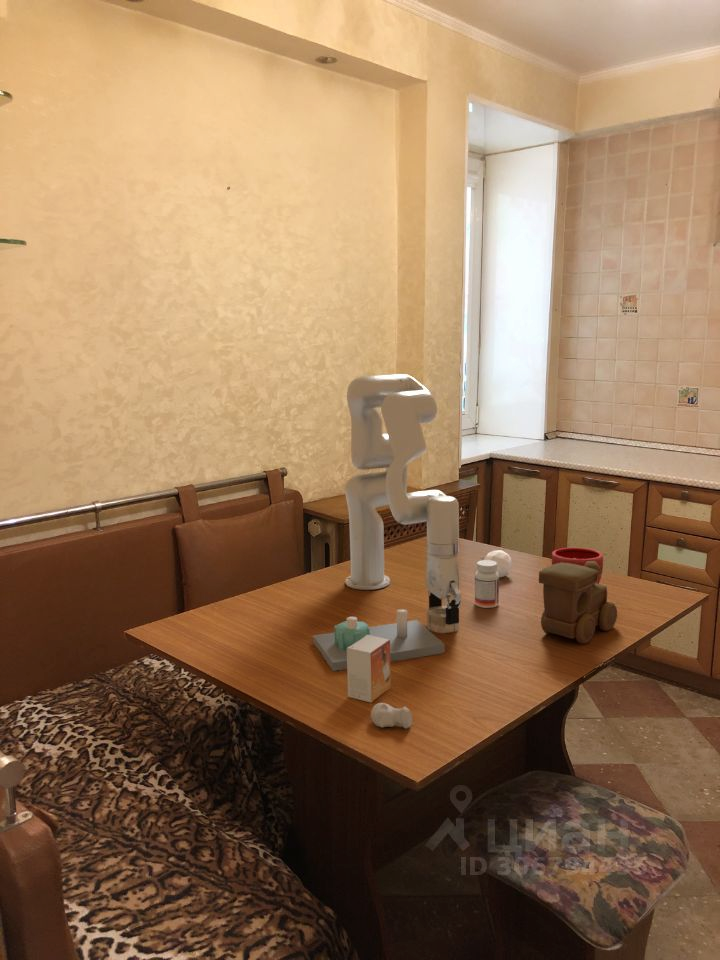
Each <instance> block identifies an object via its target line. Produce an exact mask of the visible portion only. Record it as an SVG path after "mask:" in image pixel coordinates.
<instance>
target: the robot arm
mask: <svg viewBox="0 0 720 960" xmlns="http://www.w3.org/2000/svg"><path fill="white" fill-rule="evenodd" d="M346 390H347V391H346V400H347V401H346V402H347V406H348V411H349V415H350V423H351V425H350V426H351V427H350V428H351V429H350V433H351V434H350V435H351V436H350V456H351V457H350V458H351V463H352V465H353V467H354V468H356V469H357V470H362V471H367V470H369V471H370V470H376V469H377V470H379V469H385V470H383V471H375V472H367V473H359V474H355V475H352V476H351V477H349V479H348V480H347V481H346V483H345V486H344V493H345V499H346V503H347V510H348V521H349V522H348V523H349V541H350V542H349V550H350V551H349V552H350V553H349V555H350V575H348V576H347V577H346V579H345V585H346V586H347V587H349V588H352V589H354V590H355V589H356V590H360V591H361V590H363V591H364V590H365V591H369V590H370V591H371V590H381V589H382V588H385V587H388V586H389V585H390V583H391V579H390V577H389V576H388V575H386V574H385V544H384V543H385V540H384V539H385V536H384V533H385V532H384V521H383V519H382V516H381V515H380V514H379V513H378V511H377V510H376V508H378V507H382V506H389V510H390V511H391V514H392V516H393V519H394V520H395V521H396V522H397V523H399V524H401V525H413V524H419V523H425V522H426V552H427V553H426V565H425V588H426V590H427V592H428V593H427V594H428V609H429V608H431V607H437V606H443V603H442V602H443V600H444V601H445V604H446V605H445V606H447V608H446V624H447V625H449V624H456V623H460V607H461V602H462V601H461V599H462V592H461V591H460V570H459V569H460V568H459V559H458V557H459V555H460V522H459V521H460V520H459V519H460V518H459V517H460V515H459V514H460V512H459V511H460V510H459V509H460V507H459V505H460V503H459V501H458V499H457V498H456V497H455V496H450V495H447V494H446V493H444V492H443V491H442V490H439V489H428V490H427V489H426V490H419V491H411V492H407V486H408V464H409V463H410V462H412V461H414V460H416V459H418V458H419V457H421V456H423V455H424V454H425V452H426V451H427V443H426V440H425V436H424V432H423V429H422V426H421V424H427V423H431V422H433V421H434V420H435V418H436V416H437V414H438V406H437V405H438V404H437V401H436V400H435V397H434V395H433V393H432V392H430V390H429V389H428V388H427V387H426V386H424V385H423V384H422V383H420V382H419V381H418V380H417V379H415V378H414V377H412V375H411V376H410V375H409V374H405V373H404V374H403V373H396V374H393V373H392V374H375V375H373V374H372V375H364V376H360V377H359V376H358V377H356V378H354V379H353V380H352V381H350V383H349V384H348V388H347V389H346ZM378 408H380V410H381V413H380V411H379V410H378ZM381 414H382V415H381ZM383 421H384V422H383ZM383 423H384V426H385V429H386V432H385V433H383ZM451 599H452V600H451ZM450 600H451V601H450Z"/></svg>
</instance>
